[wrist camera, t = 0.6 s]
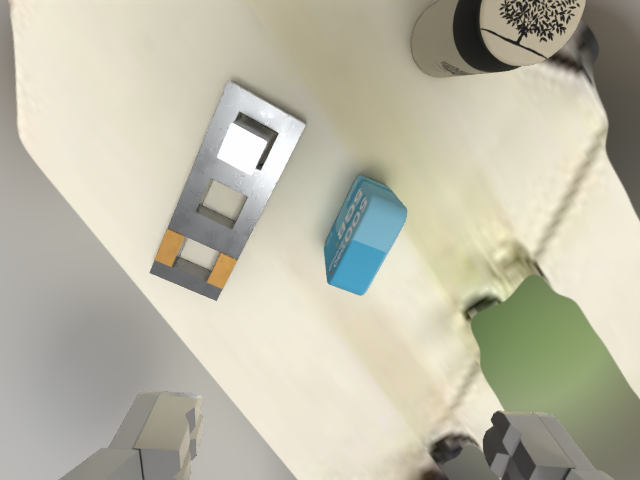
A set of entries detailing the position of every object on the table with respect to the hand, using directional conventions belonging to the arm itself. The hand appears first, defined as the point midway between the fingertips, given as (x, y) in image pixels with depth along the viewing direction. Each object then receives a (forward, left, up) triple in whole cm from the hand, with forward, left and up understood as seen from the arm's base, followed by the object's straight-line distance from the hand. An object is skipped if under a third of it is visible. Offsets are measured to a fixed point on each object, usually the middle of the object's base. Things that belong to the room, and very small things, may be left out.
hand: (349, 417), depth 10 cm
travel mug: (-19, +7, -40) cm, 45 cm away
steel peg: (+2, -8, -40) cm, 41 cm away
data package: (+5, +9, -40) cm, 41 cm away
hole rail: (+11, -8, -40) cm, 42 cm away
